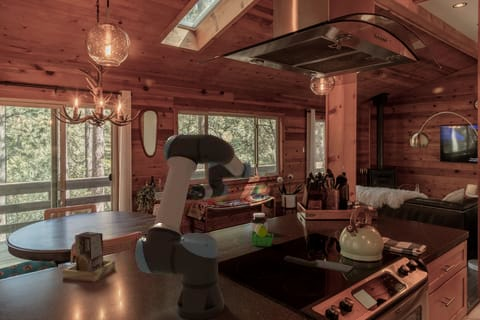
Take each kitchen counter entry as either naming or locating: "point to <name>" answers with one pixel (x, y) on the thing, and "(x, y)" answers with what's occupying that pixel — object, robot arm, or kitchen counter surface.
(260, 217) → the spread jar
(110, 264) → the box
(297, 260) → the cleaver
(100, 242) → the coffee box
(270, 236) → the fruit basket
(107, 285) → the kitchen counter surface
